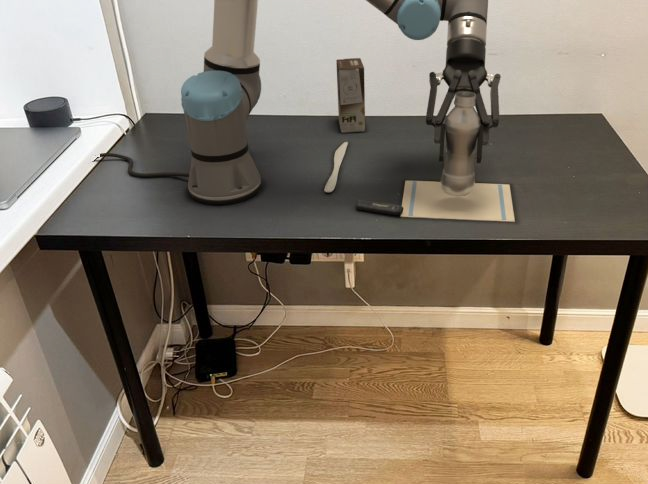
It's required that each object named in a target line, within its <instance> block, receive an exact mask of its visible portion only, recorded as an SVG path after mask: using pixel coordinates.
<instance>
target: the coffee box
mask: <svg viewBox="0 0 648 484" xmlns="http://www.w3.org/2000/svg"><path fill="white" fill-rule="evenodd" d="M335 61H336V62H335V63H336V64H335V65H336V84H337V85H336V86H337V87H336V88H337V110H338V124H339V129H340V133H341V134H345V133H361V132H365V131H366V99H365V97H366V93H365V88H366V87H365V66H364V64H363V62H362V59H361V58H360V57H356V58H355V57H353V58H342V59H341V58H340V59H336V60H335Z"/></svg>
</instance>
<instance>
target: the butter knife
mask: <svg viewBox="0 0 648 484" xmlns="http://www.w3.org/2000/svg"><path fill="white" fill-rule="evenodd" d="M348 145H349V141H344V142H343V143H342V144H341V145H340V146H338V148H337V149H336V150H335V152H334V157H333V163H334V164H333V170H332V173H331V174H330V176H329V178H328V180H327V181H326V183H325V186H324V189H323V191H324V192H325V193H328V194H329V193H332V192H333V191H334V190H335V188H336V185H337V181H338V175H339V171H340V167H341V164H342V162H343V160H344V157H345V155H346V152H347V148H348Z"/></svg>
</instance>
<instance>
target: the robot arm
mask: <svg viewBox="0 0 648 484" xmlns="http://www.w3.org/2000/svg"><path fill="white" fill-rule="evenodd" d="M365 1H366V2H367V3H369V4H370V5H371V6H372V7H374V8H376V9H377V10H378V11H379V12H381V13H382V14H383V15H385V16H386V17H387V18H388V19H390V21H392V22H393V23H394V24H396V25H397V26H398V28H399V30H400V32H401V33H402V34H403V35H404V36H405V37H407V38H408V39H411V40H413V41H423V40H426V39H428V38H430V37H431V36H433V34H435V33H436V31H437V29H438V28H439V25H440V22H443V21H444V22H448V23H447V37H446V46H447V47H446V52H445V67H444V68H443V70H442V72H438V73H436V72H434V71H431V72H429V73H428V75H429V76H428V77H429V78H428V82H429V86H430V89H429V94H428V102H427V108H426V115H425V124H426V125H427V126H432V127H434V135H433V136H434V137H433V142H434V144H437V145H438V144H439V154H438V162H439V163H443V162H444V155H445V154H444V153H445V139H446V131H445V123H444V122H445V120H446V117H447V115H448V113H449V112H448V111H449V110H450V107H451V104H452V102H453V101H454V100H455V95H456V93H457V92H461V91H468V92H473V93H475V94H476V100H475V102H476V104H475V106H474V108H475V111H476V112H477V114H478V116H479V118H480V123H481V124H480V129H479V133H478V137H477V141H476V160H475V161H476V164H481V163H482V157H483V146H487V145H488V143H489V138H490V129H492V128H495V129H496V128H498V126H499V123H500V101H499V85H500V81H501V78H502V76H501V74H500V73H496V74H491V73H488V71H487V69H486V53H487V52H486V51H487V49H486V46H487V25H488V11H489V0H365ZM258 4H259V0H214V1H213V19H212V20H213V21H212V22H213V23H212V40H211V41H212V43H211V47H209V48H208V49H207V50H206V51H204V57H203V72H198V73H197V75H191V76H190V77H188V78H187V79H186V80H185V81H184V82H183V83H182V86H181V88H180V89H181V90H180V94H181V95H180V97H181V98H180V101H181V107H182V110H183V115H184V121H185V127H186V131H187V138H188V143H189V149H190V153H191V162H190V168H189V172H167V171H166V172H165V171H164V172H150V173H149V172H148V173H147V172H145V173H144V172H136V171H134V170H133V166H134V161H133V159H132V158H131V157H129V156H127V155H123V154H120V153H112V152H103V153H102V152H101V153H99V154H100V157H97V158H96V159H95V160H94V161H93V162H95V161H97V160H98V159H99V158H105V157H111V158H117V159H122V160H125V161H128V166H127V171H128V173H129V174H130V175H131V176H133V177H138V178H154V177H155V178H156V177H157V178H159V177H184V178H185V177H187V178H188V180H187V188H188V194H189V196H190V198H192V199H193V200H194V201H196V202H199V203H202V204H206V205H229V204H235V203H239V202H242V201H245V200H248V199H250V198H252V197H254V196H256V195H257V194H258V193H259V192H260V191H261V188H262V178H261V175H260V172H259V170H258V168H257V165H256V164H255V162H254V159H253V158H252V156H251V155H252V154H251V153H250V149H249V144H248V142H249V141H248V135H247V126H246V124H247V123H246V121H247V120H248V118H249V116H250V114H251V113H252V111H253V109H254V108H255V107H256V105H257V104H258V102H259V100H260V98H261V95H262V94H261V93H262V80H261V75H260V69H261V68H260V67H261V59H260V57H259V56H258V55H257V54H256V53H255V41H256V28H257V17H258V7H259V5H258ZM442 80H443V81H444V82H445V83H446V85H447V86H448V89H447V92H446V94H445V96H444V99H443V101H442V103H441V106H440V108H439V110H438V113H437V115H436V116H434V115H435V114H434V113H435V109H436V108H435V106H436V100H437V94H438V86H440V85H441V83H442ZM485 81H486V83H487V86H488V87H489V88H490V92H489V94H490V95H489V99H490V117H491V118H489V116H488V112H487V109H486V106H485V102H484V100H483V99H484V98H483V96H482V93H481V88H480V87H481V86H482V85H483V84H484V83H485ZM109 256H110V259H111V262H112V266H113V267H115V265H114V259H113V257H112V254H110V255H109ZM113 270H114V271H116V270H115V268H114V269H113Z"/></svg>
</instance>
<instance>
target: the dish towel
mask: <svg viewBox="0 0 648 484" xmlns="http://www.w3.org/2000/svg"><path fill="white" fill-rule="evenodd" d="M511 192H512V191H511V185H510V184H509V183H508V184H507V183H506V184H505V183H481V182H480V183H478V182H475V185H474V188H473V190H472V191H471V193H470V194H468V195H466V196H452V195H448V194H446V193H445V192H444V191H443V189H442V187H441V181H430V180H429V181H428V180H405V182H404V188H403V195H402V202H401V206H402V207H403V212H402V214H401V215H399V217H400V218H412V219H413V218H415V219H437V220H456V221H457V220H458V221H460V220H461V221H479V222H482V221H483V222H502V223H503V222H504V223H515V222H516V221H515V213H514V206H513V199H512V193H511Z"/></svg>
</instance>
